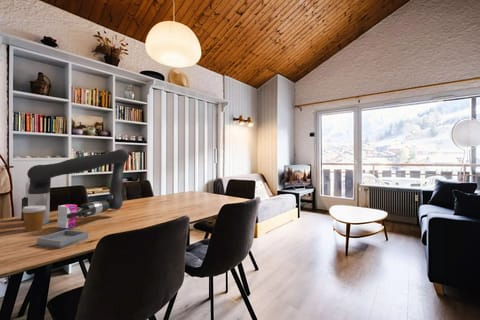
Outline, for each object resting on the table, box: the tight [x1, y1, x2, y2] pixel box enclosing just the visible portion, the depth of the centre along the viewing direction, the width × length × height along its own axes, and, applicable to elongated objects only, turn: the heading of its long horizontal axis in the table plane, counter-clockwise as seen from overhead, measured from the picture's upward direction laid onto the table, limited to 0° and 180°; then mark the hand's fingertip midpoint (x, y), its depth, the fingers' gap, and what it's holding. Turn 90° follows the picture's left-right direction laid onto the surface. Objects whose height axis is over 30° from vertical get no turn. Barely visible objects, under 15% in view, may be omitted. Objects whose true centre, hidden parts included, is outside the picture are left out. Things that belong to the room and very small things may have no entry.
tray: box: [36, 228, 89, 249], centre depth 103 cm, size 13×13×3 cm
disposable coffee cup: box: [21, 205, 46, 233], centre depth 118 cm, size 10×10×12 cm
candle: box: [20, 177, 30, 221], centre depth 137 cm, size 5×5×25 cm
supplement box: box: [56, 203, 78, 230], centre depth 119 cm, size 6×6×12 cm
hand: (62, 215), depth 117 cm, fingers closed on supplement box, 6 cm apart
